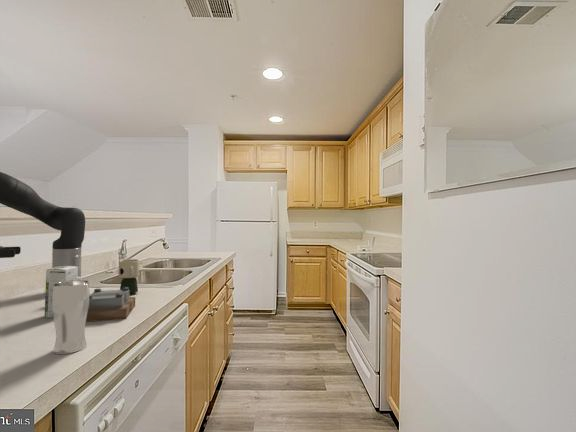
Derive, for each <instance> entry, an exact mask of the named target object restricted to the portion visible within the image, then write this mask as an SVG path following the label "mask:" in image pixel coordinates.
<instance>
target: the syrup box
mask: <svg viewBox="0 0 576 432" xmlns="http://www.w3.org/2000/svg"><path fill="white" fill-rule="evenodd" d="M45 271H46V272H45V290H44V291H45V293H44V294H45V296H44V318H46V319H52V318H53V313H52V295H53V287H54V284H56V283H59V282H64V281H71V280H77V278H78V267H75V266H59V267H55V268H52V267H51V268H47V269H46V270H45Z"/></svg>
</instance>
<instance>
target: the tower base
mask: <svg viewBox="0 0 576 432" xmlns="http://www.w3.org/2000/svg"><path fill="white" fill-rule="evenodd" d="M129 294H130V295H131V293H130V290H129V288H128V287H124V288H122V290H120V289H116V290H115V289H113V290H102V289H101V288H95V289H94V290H93V292H92V293H90V302H89V310H88V315H87V319H86V323H87V322H90V323H91V322H100V321H114V320H126V319H127V318H128V317H129V316H130V314H131V313H132V311H133V310H134V308H135V307H136V296H131V297H130V295H129Z"/></svg>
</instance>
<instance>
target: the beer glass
mask: <svg viewBox="0 0 576 432" xmlns="http://www.w3.org/2000/svg"><path fill="white" fill-rule="evenodd" d="M90 295H91V293H90V282H89V280H85V279H81V280H71V281H64V282H59V283H56V284H54V287H53V295H52V313H53V323H54V328H55V341H54V347H53V354H55V355H68V354H74V353H77V352H79V351H82V350H83V349H85V348H86V347H87V340H86V334H85V332H86V331H85V330H86V324H87V322H86V319H87V315H88V310H89V302H90Z"/></svg>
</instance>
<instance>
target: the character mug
mask: <svg viewBox="0 0 576 432" xmlns="http://www.w3.org/2000/svg"><path fill="white" fill-rule="evenodd" d="M118 277H119V278H120V279H121V282H120V287H119V290H122V288H124V287H128V288H129V290H130V294H129V296H130V295H131V294H134V293H138V292H139V289H138V288H139V287H138V280H137V277H140V259H133V258H132V259H131V258H130V259H129V258H127V259H121V260H119V261H118Z"/></svg>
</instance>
